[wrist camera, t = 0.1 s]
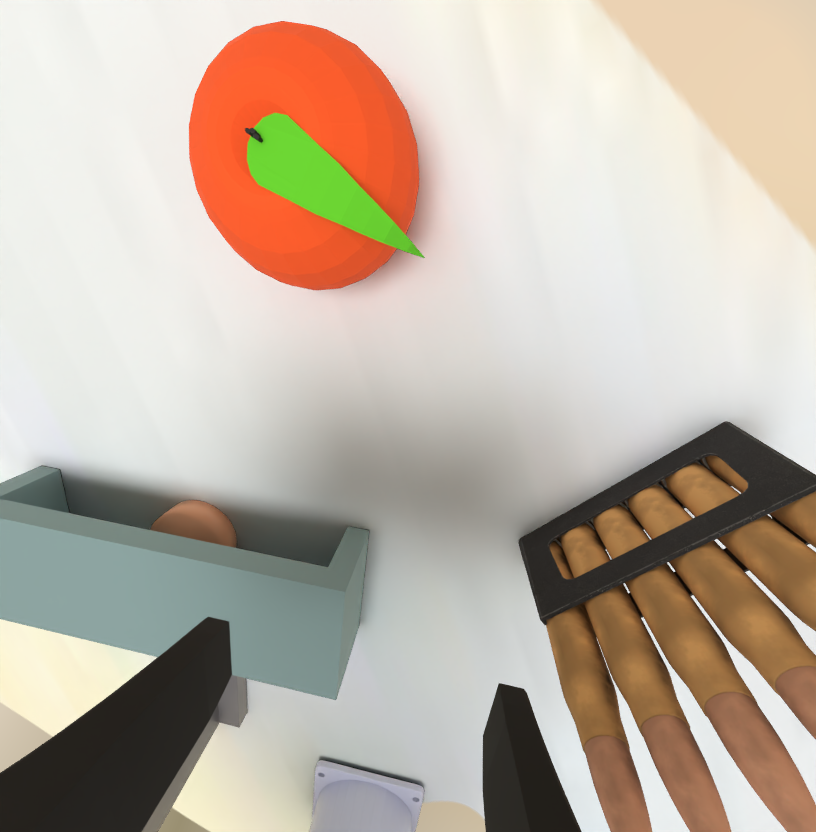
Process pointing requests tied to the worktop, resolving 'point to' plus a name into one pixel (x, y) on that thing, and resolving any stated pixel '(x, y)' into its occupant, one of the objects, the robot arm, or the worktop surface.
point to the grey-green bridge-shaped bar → (176, 589)
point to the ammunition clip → (685, 622)
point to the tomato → (304, 156)
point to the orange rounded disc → (197, 523)
